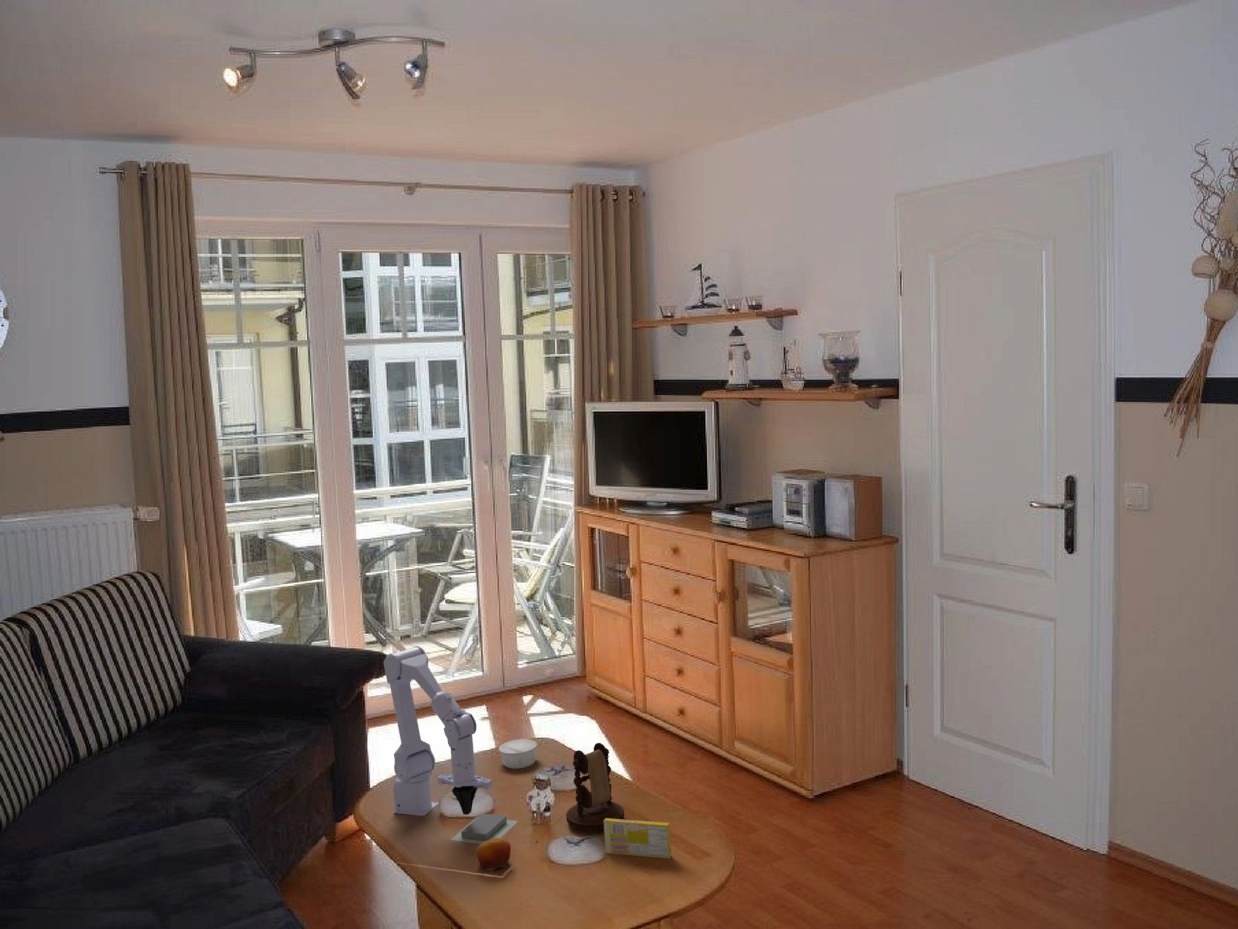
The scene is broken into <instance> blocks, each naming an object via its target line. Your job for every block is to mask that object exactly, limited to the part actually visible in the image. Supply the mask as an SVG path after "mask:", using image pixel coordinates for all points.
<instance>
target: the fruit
mask: <svg viewBox="0 0 1238 929" xmlns="http://www.w3.org/2000/svg"><path fill="white" fill-rule="evenodd" d="M476 856H477V859H478V863H479V865H480V866H481V867H482V868H483V869H484V870H485V871H489V872H491V873H492V872H494V870H497V869H498V868H505V869H507V868H508V867H507V865H508V863H509V860H510V857H511V843H510V842H509V841H508V840H507V839H506V838H503V837H501V838H494V839H489V840H486V841H484V842H483V843H482V844H479V846H478V847H477V849H476Z"/></svg>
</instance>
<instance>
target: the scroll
mask: <svg viewBox="0 0 1238 929" xmlns="http://www.w3.org/2000/svg"><path fill="white" fill-rule="evenodd" d="M609 754H610V750H609V749H608V748H606V746H605V744H602V743H601V742H596V743H595V744H594V746H593V751H591V752H588V753H585V752H583V751H582V750H575V751H574V753H573V761H572V765H573V769H574V778H573V784H574V786H575V787H576V788H575V794H576V796H575V802H576V804H575V805H574V806H572V807H571V808H569V809H568V810H567V811H566V818H565V819H566V822H567V823H568V824H569V825H571V826H572V827H573V828H576V829H581V830H590V831H591V834H592V835H594V834H595V833H596V830H600V829H601V830H602V829H604V820H605V819H606V818H610V819H622V820H625V819H624V818H625V809H624V808H623V805H621V804H619V803H617V802H614V801H612V800H613V797H612V784H611V783H610V782H611V778H610V774H611V771H612V768H611V766H610V762H609V758H610V757H609ZM581 774H582V775H583V776H581ZM588 780H589V783H590V790H589V788H588V787H586V786H585V785H582V784H583V783H585V782H588Z"/></svg>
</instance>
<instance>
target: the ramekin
mask: <svg viewBox="0 0 1238 929" xmlns="http://www.w3.org/2000/svg"><path fill="white" fill-rule="evenodd" d="M537 749H538V743H537V742H536V741H534V740H532V739H524V738H520V739H513V740H509V741H506V742H505V743H503V744H501V745H500V746H499V748H498V752H499V754H500V757H501V760H502V764H503V766H505V767H506V768H508V769H515V770H516V769H517V770H518V769H519V770H520V769H525V768H528V767H531V766H532V765H534V764H535V762H536V760H537V759H536V758H537Z"/></svg>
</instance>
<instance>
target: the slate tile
mask: <svg viewBox="0 0 1238 929" xmlns="http://www.w3.org/2000/svg"><path fill="white" fill-rule="evenodd" d="M477 817H478V818H476V817H475V818H476V819H475V818H474V819H475V820H474V819H473V820H474V821H473V820H472V821H473V822H472V821H471V822H472V823H471V822H470V823H471V824H469V823H468V824H469V825H468V824H467V825H468V826H467V825H466V826H467V827H466V826H465V827H466V828H465V827H464V828H465V829H464V828H463V829H464V830H463V831H461V830H460V831H461V836H462V838H468V839H476V840H484V841H486V840H488V839H489V838H490V837H491V836H492V835H493V834H494V833H495V832H496V831H498V830H499V829H500V828H501V827H502V826H503V825H504V824H505V823H506V822H507V820H508V819H507V816H506V815H501V814H500V815H499V814H492V813H491V814H490V813H481V814H480V815H478V816H477Z"/></svg>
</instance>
